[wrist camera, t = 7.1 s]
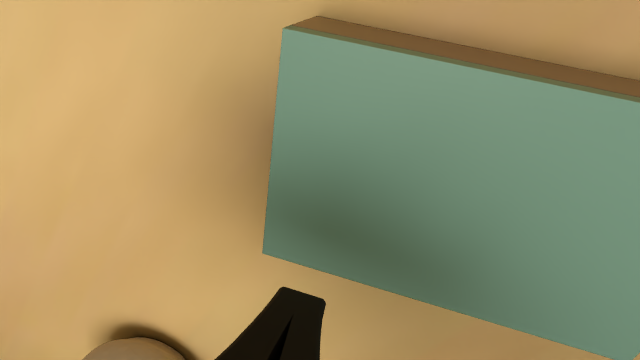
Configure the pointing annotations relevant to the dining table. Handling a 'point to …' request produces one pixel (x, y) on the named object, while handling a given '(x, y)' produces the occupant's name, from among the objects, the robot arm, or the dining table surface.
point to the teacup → (134, 350)
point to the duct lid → (460, 187)
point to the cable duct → (475, 55)
